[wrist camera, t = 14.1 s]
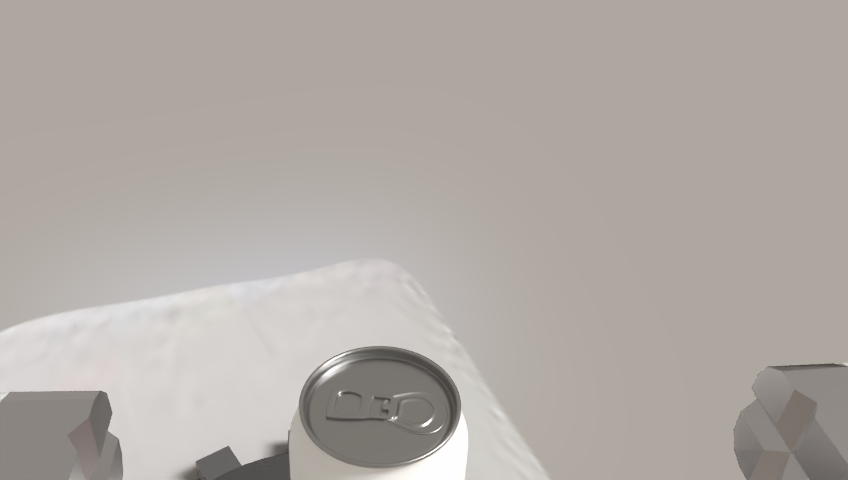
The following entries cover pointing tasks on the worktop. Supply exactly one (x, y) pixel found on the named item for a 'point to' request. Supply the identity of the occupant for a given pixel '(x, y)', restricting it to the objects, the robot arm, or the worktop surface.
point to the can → (378, 420)
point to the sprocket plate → (243, 467)
